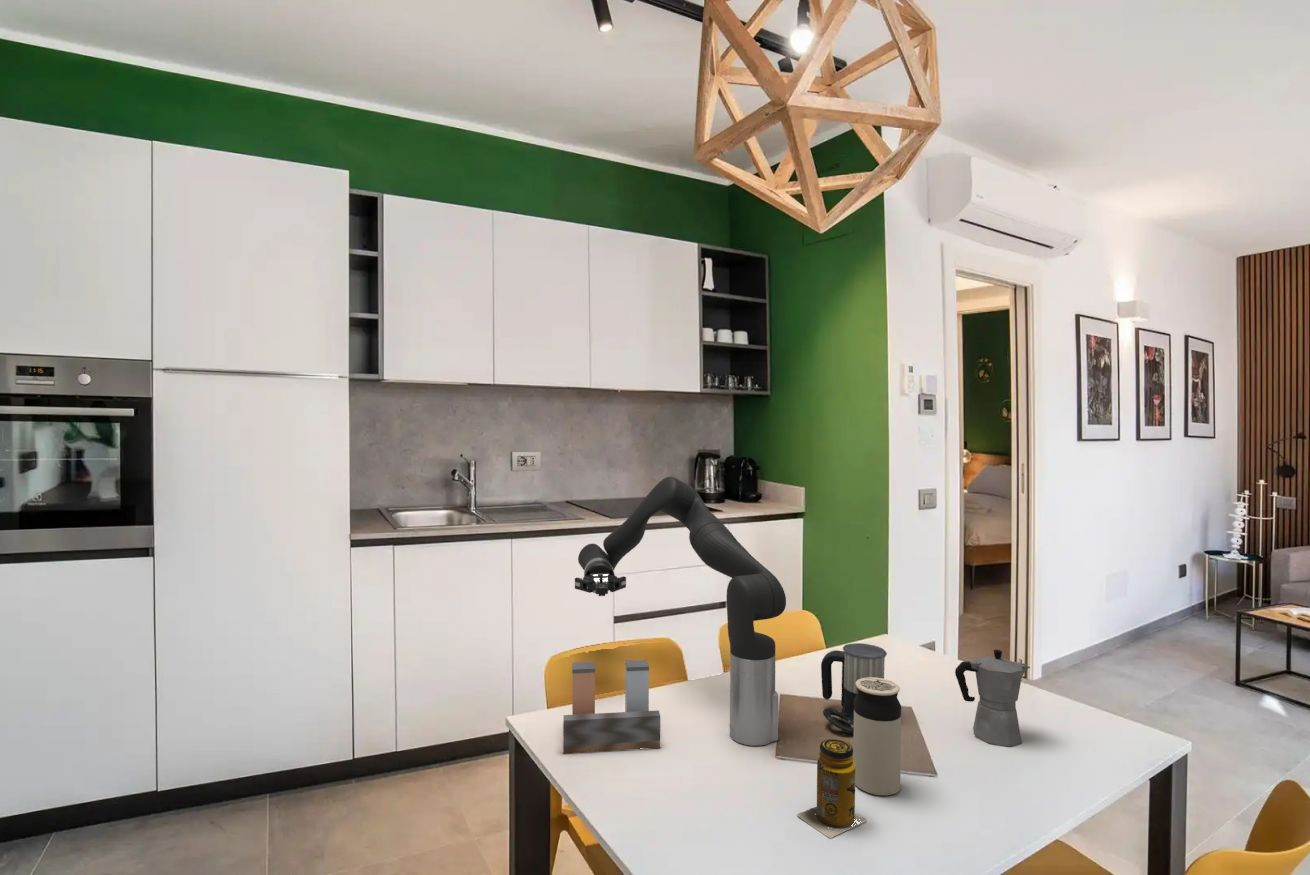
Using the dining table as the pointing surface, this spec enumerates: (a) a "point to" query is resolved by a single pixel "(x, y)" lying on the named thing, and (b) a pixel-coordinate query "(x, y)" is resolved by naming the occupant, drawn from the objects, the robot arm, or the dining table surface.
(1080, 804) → the dining table surface
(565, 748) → the base
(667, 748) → the dining table surface
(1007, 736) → the coffeepot
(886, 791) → the travel mug
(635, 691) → the grey tall block
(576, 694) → the orange-brown tall block
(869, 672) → the milk frother
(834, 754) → the condiment
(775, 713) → the robot arm
